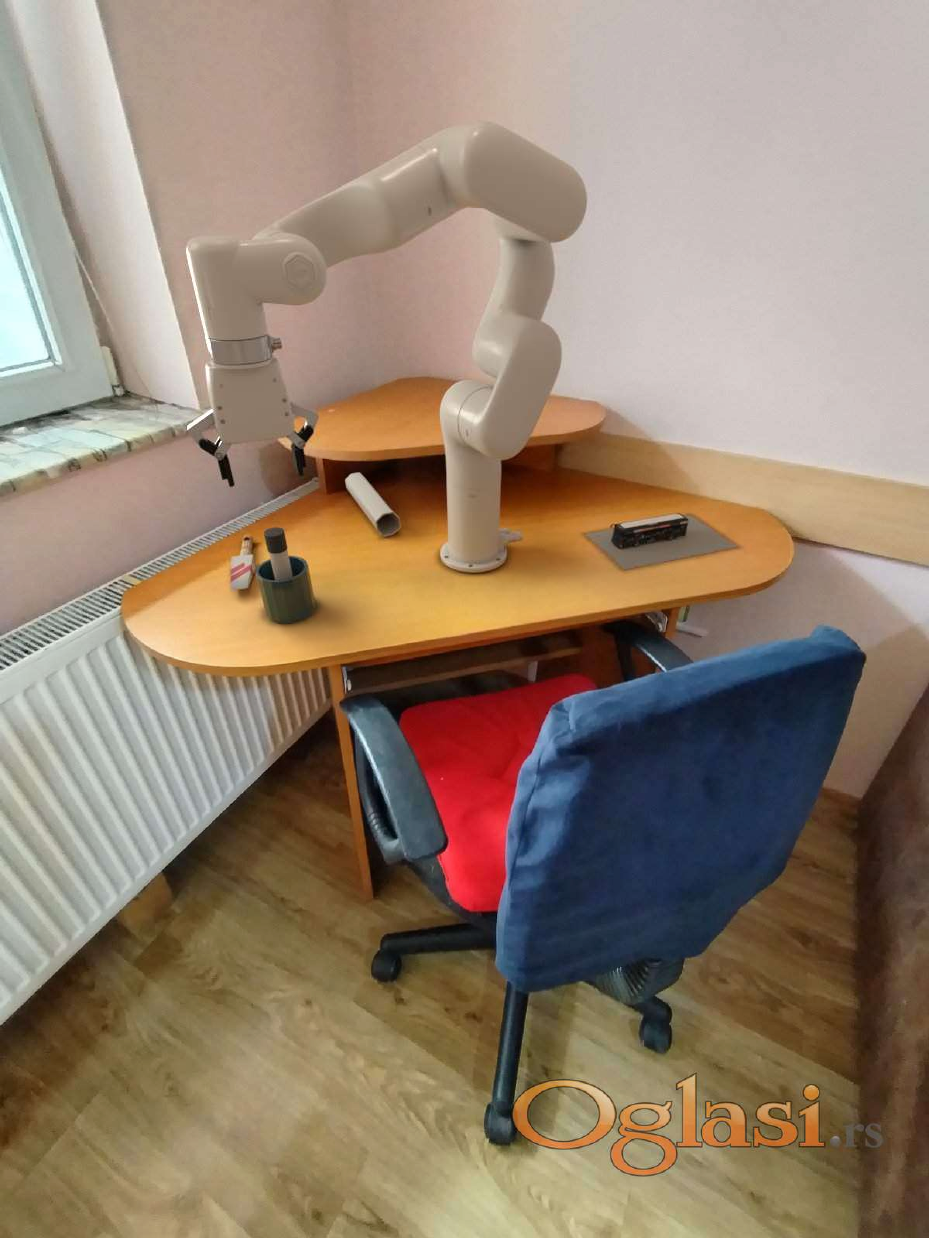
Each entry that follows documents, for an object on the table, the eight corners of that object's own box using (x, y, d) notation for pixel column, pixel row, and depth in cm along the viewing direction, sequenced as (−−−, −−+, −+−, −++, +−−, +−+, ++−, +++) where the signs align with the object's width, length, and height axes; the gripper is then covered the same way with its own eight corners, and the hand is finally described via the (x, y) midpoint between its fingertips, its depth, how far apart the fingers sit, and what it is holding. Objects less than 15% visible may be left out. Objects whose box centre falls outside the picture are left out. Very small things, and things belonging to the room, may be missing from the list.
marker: (297, 600, 100) (281, 525, 92) (301, 609, 98) (285, 534, 90) (279, 604, 99) (262, 529, 91) (282, 613, 97) (265, 538, 89)
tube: (338, 475, 135) (371, 520, 116) (358, 464, 135) (395, 507, 117) (348, 495, 138) (381, 541, 120) (368, 484, 139) (405, 528, 120)
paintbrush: (224, 583, 100) (237, 533, 116) (228, 596, 102) (240, 545, 118) (248, 580, 101) (257, 530, 117) (252, 594, 102) (260, 543, 118)
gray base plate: (586, 534, 120) (588, 515, 117) (691, 515, 126) (695, 496, 124) (624, 569, 108) (627, 549, 106) (737, 547, 115) (743, 527, 112)
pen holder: (309, 591, 103) (301, 551, 99) (320, 616, 98) (312, 574, 93) (262, 602, 101) (252, 562, 96) (270, 628, 95) (260, 586, 90)
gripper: (302, 339, 82) (319, 460, 92) (165, 350, 76) (200, 478, 86) (314, 351, 76) (331, 478, 86) (168, 363, 70) (204, 498, 80)
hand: (265, 478), depth 86 cm, fingers open, 9 cm apart
